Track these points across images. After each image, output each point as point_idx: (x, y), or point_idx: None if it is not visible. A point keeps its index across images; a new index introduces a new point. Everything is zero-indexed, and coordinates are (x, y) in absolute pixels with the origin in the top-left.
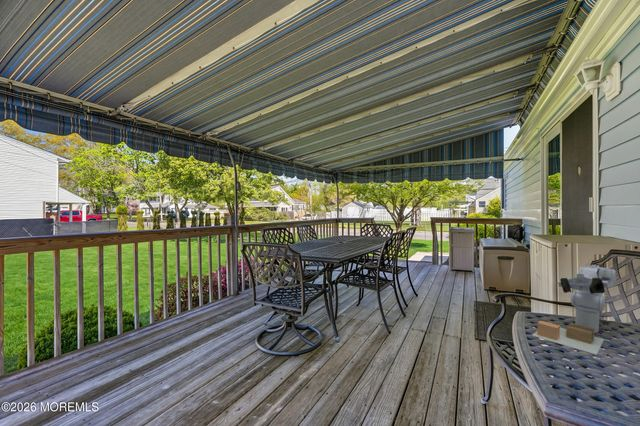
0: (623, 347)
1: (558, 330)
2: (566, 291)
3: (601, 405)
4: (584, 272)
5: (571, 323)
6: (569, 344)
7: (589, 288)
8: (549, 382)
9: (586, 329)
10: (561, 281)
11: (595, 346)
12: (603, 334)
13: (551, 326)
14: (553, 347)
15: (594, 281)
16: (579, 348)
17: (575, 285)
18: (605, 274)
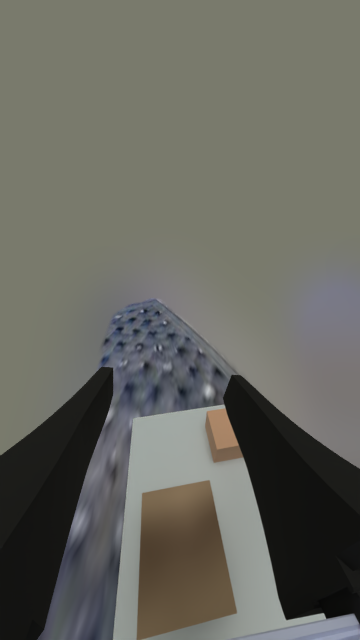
0: None
1: (210, 432)
2: (228, 404)
3: (129, 315)
4: None
5: (226, 594)
6: (180, 425)
7: (111, 370)
8: (162, 314)
9: (160, 539)
10: (344, 459)
11: (136, 488)
12: None
13: (219, 410)
14: (195, 395)
15: (21, 470)
16: (161, 420)
17: (271, 632)
18: None
